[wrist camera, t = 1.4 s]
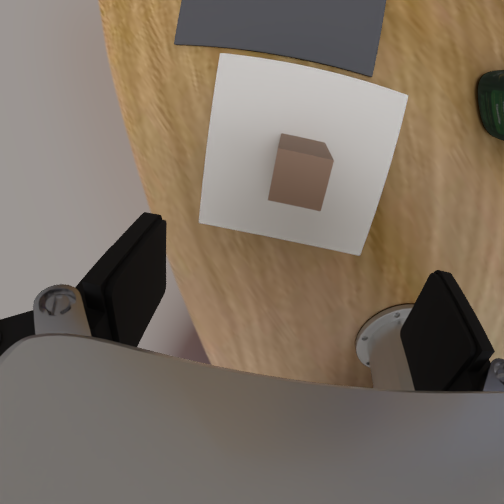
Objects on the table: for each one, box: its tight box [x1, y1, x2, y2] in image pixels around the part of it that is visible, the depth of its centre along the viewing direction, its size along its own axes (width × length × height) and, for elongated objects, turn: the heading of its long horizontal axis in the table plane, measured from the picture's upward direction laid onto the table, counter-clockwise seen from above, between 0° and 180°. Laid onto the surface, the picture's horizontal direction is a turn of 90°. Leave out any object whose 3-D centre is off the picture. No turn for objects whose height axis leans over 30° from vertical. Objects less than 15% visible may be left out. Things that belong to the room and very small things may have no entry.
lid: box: [199, 53, 408, 256], centre depth 22 cm, size 15×15×7 cm
